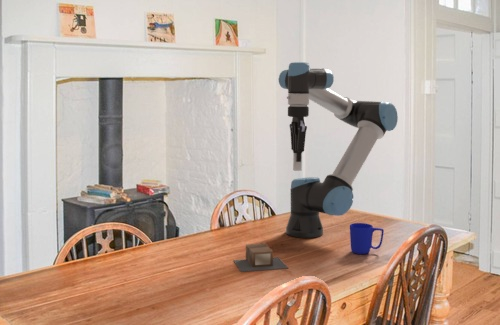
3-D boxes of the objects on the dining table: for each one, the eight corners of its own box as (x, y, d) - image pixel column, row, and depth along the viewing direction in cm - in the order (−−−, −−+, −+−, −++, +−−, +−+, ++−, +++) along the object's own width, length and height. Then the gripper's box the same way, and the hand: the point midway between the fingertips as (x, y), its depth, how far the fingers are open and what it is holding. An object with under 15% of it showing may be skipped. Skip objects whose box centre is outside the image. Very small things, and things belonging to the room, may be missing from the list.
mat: (233, 261, 198) (233, 260, 198) (278, 258, 202) (278, 257, 202) (241, 271, 187) (241, 271, 187) (288, 268, 191) (288, 267, 191)
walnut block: (245, 244, 200) (252, 252, 190) (265, 243, 201) (273, 251, 192) (245, 258, 201) (252, 267, 191) (265, 257, 202) (272, 265, 192)
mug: (383, 256, 204) (384, 229, 203) (348, 254, 206) (349, 227, 205) (382, 250, 212) (383, 224, 211) (349, 248, 214) (350, 222, 213)
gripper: (283, 105, 213) (282, 168, 216) (293, 106, 200) (292, 173, 204) (302, 105, 215) (301, 167, 218) (314, 106, 202) (313, 172, 205)
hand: (297, 170), depth 211 cm, fingers closed
